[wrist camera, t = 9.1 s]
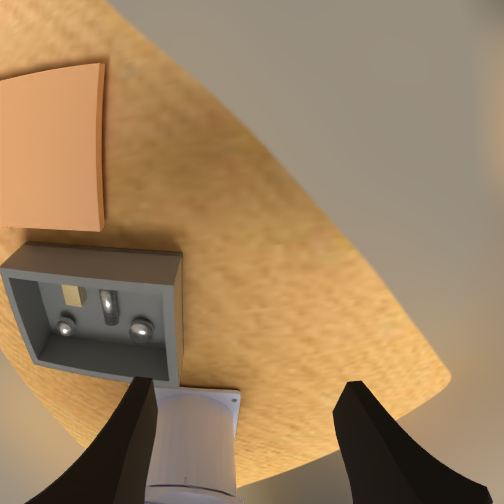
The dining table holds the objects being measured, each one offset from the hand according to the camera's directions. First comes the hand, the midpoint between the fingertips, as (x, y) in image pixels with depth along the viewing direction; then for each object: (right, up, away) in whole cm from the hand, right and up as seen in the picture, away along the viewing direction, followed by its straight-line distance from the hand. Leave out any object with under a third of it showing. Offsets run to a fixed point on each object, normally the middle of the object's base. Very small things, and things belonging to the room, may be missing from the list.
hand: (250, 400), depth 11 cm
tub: (-10, +2, +9) cm, 13 cm away
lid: (-14, +11, +3) cm, 18 cm away
